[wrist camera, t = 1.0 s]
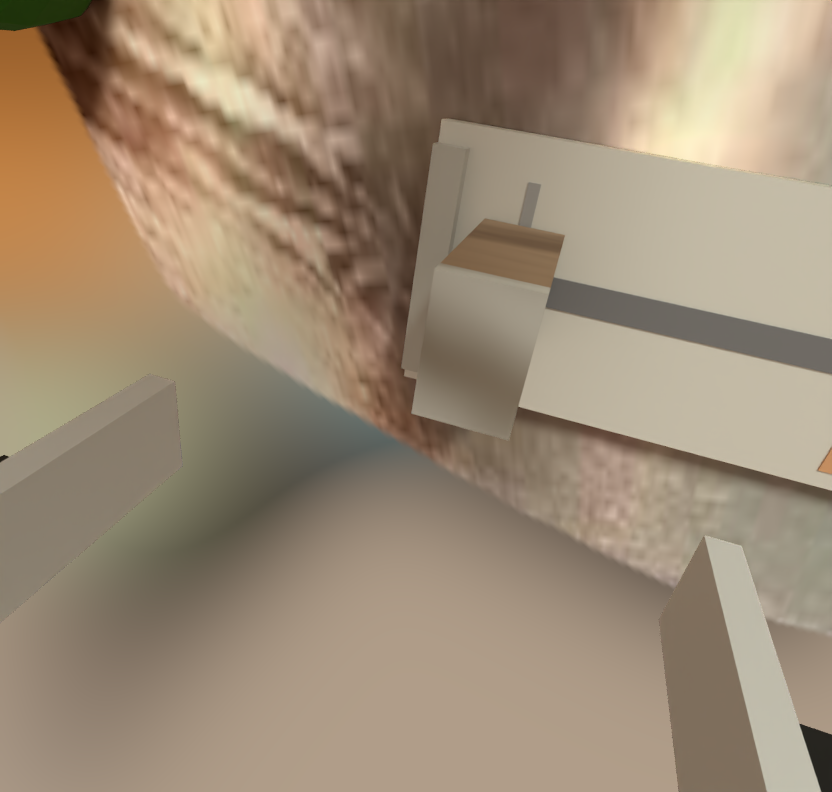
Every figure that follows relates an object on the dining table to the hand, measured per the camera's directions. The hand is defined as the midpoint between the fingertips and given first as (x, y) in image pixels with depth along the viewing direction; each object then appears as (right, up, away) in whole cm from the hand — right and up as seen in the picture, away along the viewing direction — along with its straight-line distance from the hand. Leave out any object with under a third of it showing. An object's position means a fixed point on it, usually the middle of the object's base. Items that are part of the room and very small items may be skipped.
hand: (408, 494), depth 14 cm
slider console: (+15, +6, +15) cm, 22 cm away
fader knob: (+5, +8, +15) cm, 18 cm away
